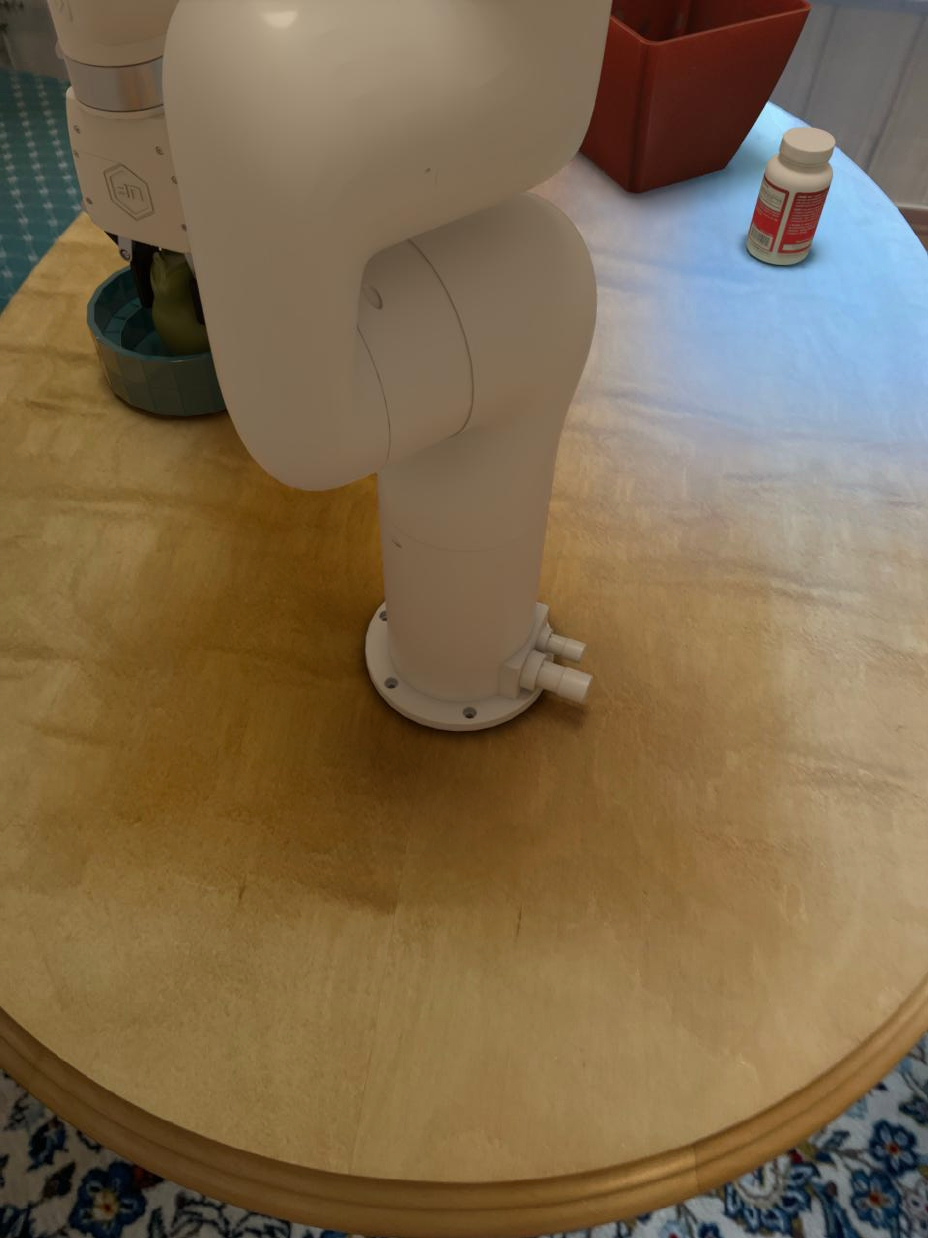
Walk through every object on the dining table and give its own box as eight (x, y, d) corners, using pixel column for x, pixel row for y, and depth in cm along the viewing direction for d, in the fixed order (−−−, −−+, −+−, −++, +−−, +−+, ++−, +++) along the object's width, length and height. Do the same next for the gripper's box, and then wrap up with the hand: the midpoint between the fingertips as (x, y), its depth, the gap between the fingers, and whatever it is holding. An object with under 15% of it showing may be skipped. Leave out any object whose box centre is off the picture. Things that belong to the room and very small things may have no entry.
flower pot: (621, 220, 99) (649, 42, 86) (528, 137, 109) (540, -34, 96) (770, 178, 105) (818, 5, 91) (668, 103, 115) (698, -63, 102)
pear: (207, 327, 86) (180, 221, 77) (244, 354, 83) (220, 248, 75) (154, 355, 83) (120, 250, 75) (190, 384, 81) (160, 279, 73)
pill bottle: (813, 241, 97) (850, 130, 89) (800, 273, 94) (838, 160, 85) (752, 227, 99) (782, 116, 90) (737, 257, 95) (768, 145, 87)
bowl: (317, 336, 86) (310, 276, 82) (226, 442, 78) (212, 381, 73) (172, 293, 90) (157, 234, 85) (69, 390, 81) (46, 329, 77)
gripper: (-13, 69, 65) (70, 305, 79) (205, 122, 61) (250, 361, 75) (59, 27, 69) (124, 258, 84) (266, 74, 65) (297, 308, 80)
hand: (183, 305), depth 79 cm, fingers closed on pear, 4 cm apart
